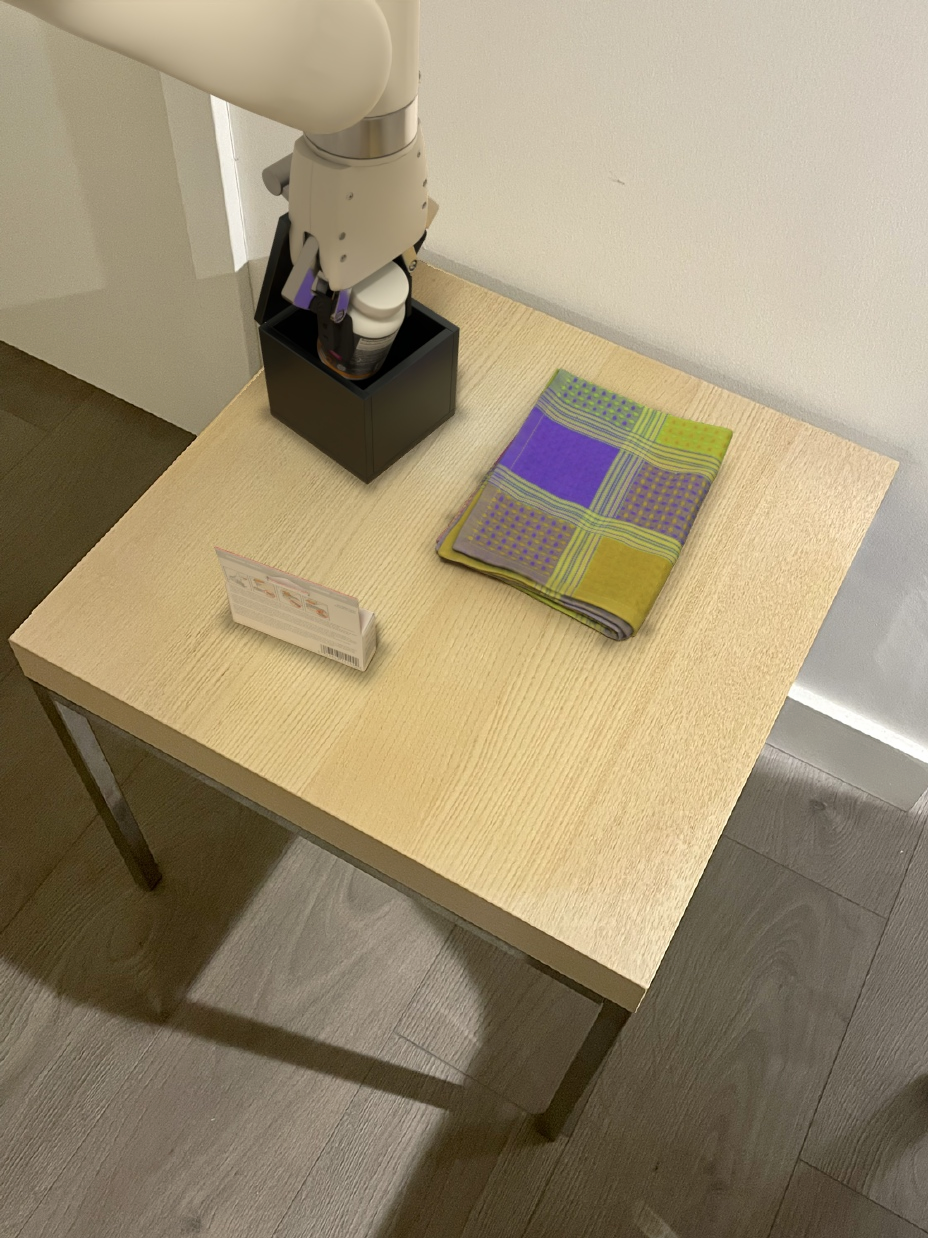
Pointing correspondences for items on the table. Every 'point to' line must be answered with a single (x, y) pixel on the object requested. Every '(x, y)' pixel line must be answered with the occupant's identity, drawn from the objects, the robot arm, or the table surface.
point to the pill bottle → (371, 322)
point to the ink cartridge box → (298, 611)
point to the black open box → (362, 389)
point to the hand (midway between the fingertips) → (365, 327)
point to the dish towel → (589, 504)
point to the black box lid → (276, 246)
